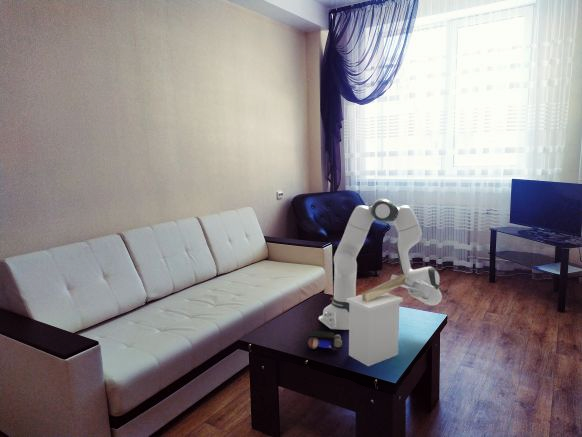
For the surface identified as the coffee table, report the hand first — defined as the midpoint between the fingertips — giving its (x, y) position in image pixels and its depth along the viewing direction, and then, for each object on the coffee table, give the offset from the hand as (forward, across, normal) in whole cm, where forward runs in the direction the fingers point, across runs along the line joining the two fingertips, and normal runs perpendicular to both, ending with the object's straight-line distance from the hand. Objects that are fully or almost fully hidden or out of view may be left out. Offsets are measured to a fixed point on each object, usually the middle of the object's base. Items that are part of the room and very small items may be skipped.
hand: (400, 278), depth 190 cm
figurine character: (+9, -18, +42) cm, 47 cm away
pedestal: (-2, 0, +36) cm, 36 cm away
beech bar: (+6, 0, +8) cm, 10 cm away
